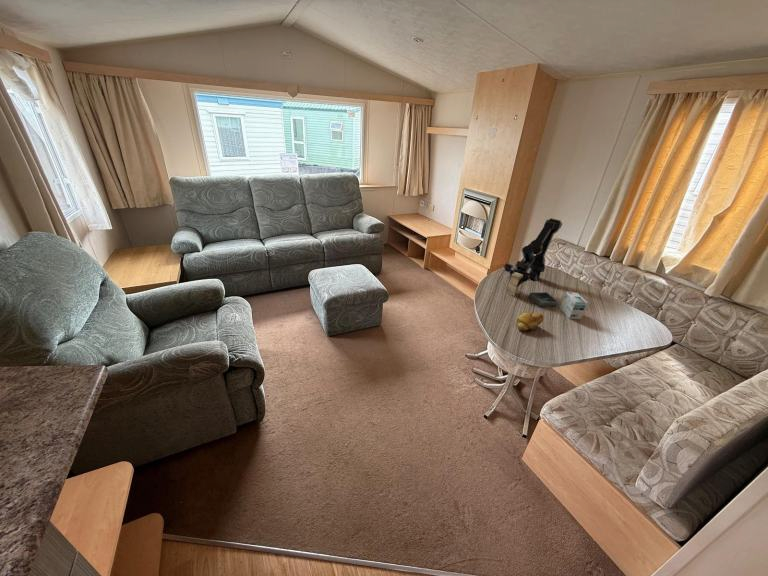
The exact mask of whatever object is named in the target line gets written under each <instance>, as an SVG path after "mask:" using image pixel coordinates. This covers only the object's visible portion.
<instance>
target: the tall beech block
mask: <svg viewBox="0 0 768 576" xmlns="http://www.w3.org/2000/svg"><path fill="white" fill-rule="evenodd" d="M522 277H523V275H522V274H519V273H517V272H515V273H513V274H512V275H511V279H510V278H509V280H510V282H509V281H508V286H507V288H506V292H505V293H506V294H507V293H508V294H507V295H510V296H512V295H513V296H512V297H514V296H515V294H516V293H517V294H518V291H519V287H520V285H519V286H517V285H518V283H519V281H520V280H521V278H522ZM517 294H516V295H517Z"/></svg>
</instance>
